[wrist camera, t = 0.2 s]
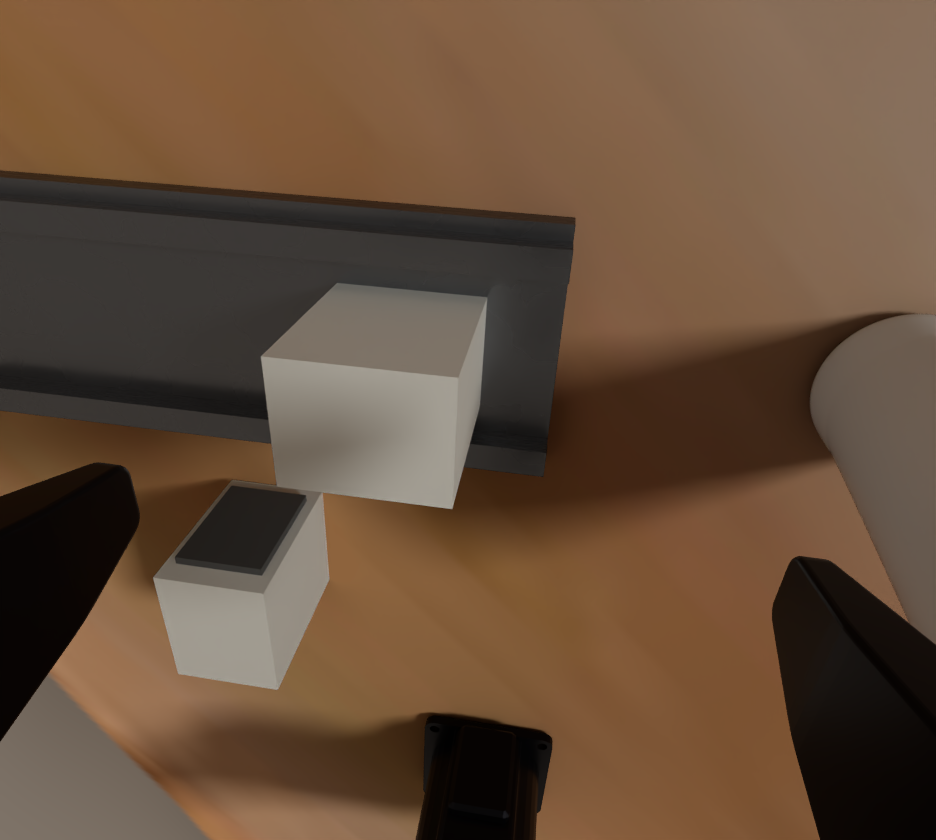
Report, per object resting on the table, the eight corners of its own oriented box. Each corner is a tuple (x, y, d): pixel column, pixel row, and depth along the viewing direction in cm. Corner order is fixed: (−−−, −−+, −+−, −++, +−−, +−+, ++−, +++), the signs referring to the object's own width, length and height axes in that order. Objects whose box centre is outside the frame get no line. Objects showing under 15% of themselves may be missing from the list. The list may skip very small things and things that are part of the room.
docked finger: (487, 297, 21) (458, 377, 16) (479, 405, 23) (452, 509, 18) (328, 282, 21) (249, 355, 16) (334, 389, 23) (266, 484, 18)
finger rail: (544, 457, 25) (541, 488, 23) (15, 395, 27) (-23, 418, 25) (575, 217, 20) (575, 233, 18) (-63, 165, 22) (-117, 174, 21)
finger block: (329, 578, 30) (277, 689, 24) (246, 566, 30) (178, 673, 25) (322, 485, 27) (262, 587, 22) (231, 473, 27) (151, 571, 22)
